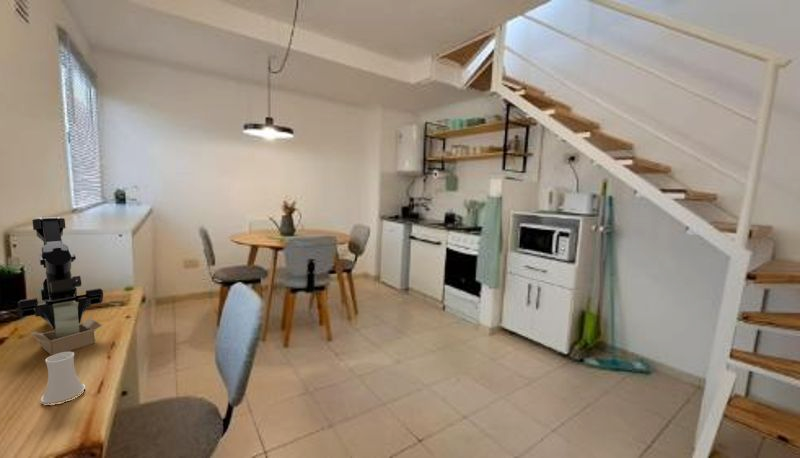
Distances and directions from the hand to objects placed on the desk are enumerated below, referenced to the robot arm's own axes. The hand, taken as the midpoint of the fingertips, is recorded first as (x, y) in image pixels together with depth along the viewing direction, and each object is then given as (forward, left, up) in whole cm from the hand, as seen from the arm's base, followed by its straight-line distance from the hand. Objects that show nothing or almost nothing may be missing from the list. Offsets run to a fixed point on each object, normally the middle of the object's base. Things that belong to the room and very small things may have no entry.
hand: (66, 325), depth 104 cm
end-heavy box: (-1, 0, -7) cm, 7 cm away
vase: (+31, -9, -7) cm, 32 cm away
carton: (-1, 0, -7) cm, 7 cm away
